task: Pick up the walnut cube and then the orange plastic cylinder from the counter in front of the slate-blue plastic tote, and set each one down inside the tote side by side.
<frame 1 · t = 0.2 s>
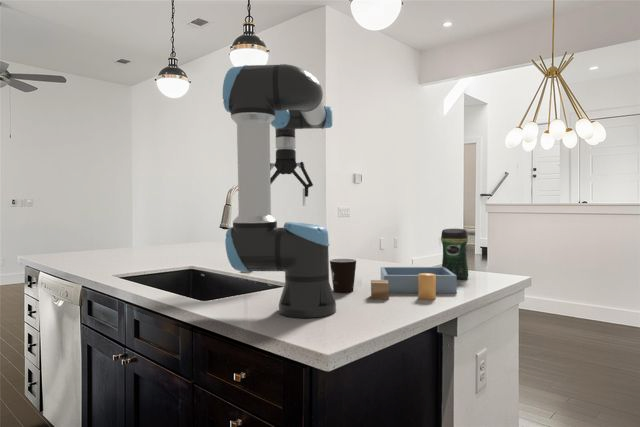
hand: (286, 205, 163), 28 cm above the counter, fingers open, 13 cm apart
tote: (416, 287, 144), on the counter
coffee jar: (454, 278, 162), on the counter
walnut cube: (379, 297, 129), on the counter
orange cylinder: (427, 297, 128), on the counter
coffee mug: (344, 290, 141), on the counter
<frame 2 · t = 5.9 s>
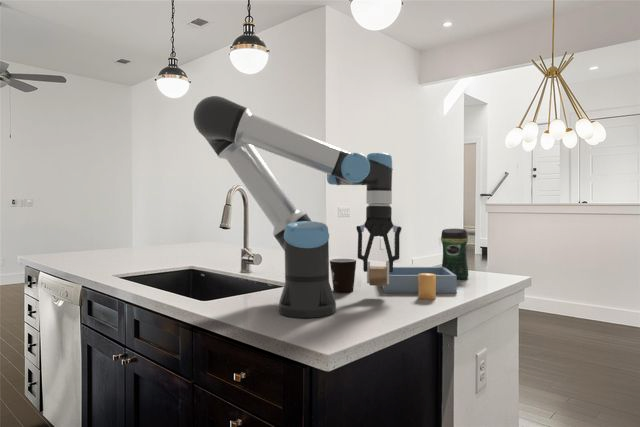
hand: (377, 282, 129), 4 cm above the counter, fingers closed on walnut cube, 5 cm apart
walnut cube: (377, 284, 129), point 4 cm above the counter, touching gripper
everything else where it was.
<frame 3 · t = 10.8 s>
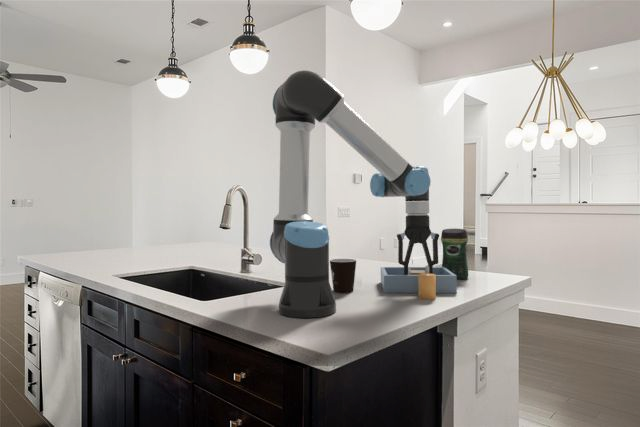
hand: (418, 285, 140), 1 cm above the counter, fingers closed on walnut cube, 5 cm apart
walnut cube: (418, 286, 140), point 1 cm above the counter, touching gripper, tote
everything else where it was.
when the fingers open (1 cm above the counter, at t = 10.9 s): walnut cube stays where it is, resting on tote.
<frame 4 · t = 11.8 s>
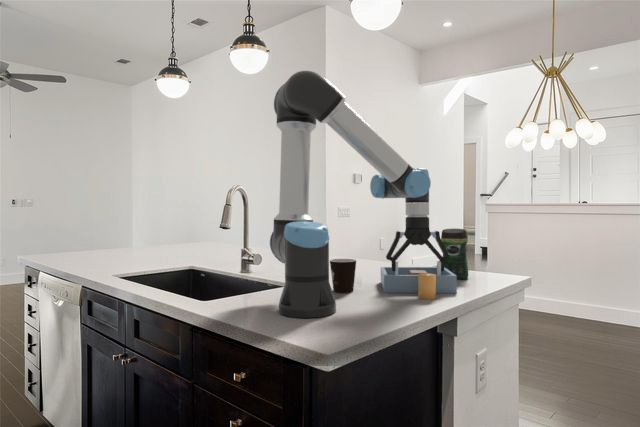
hand: (417, 281, 140), 3 cm above the counter, fingers open, 13 cm apart
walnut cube: (418, 286, 140), point 1 cm above the counter, touching tote
everything else where it was.
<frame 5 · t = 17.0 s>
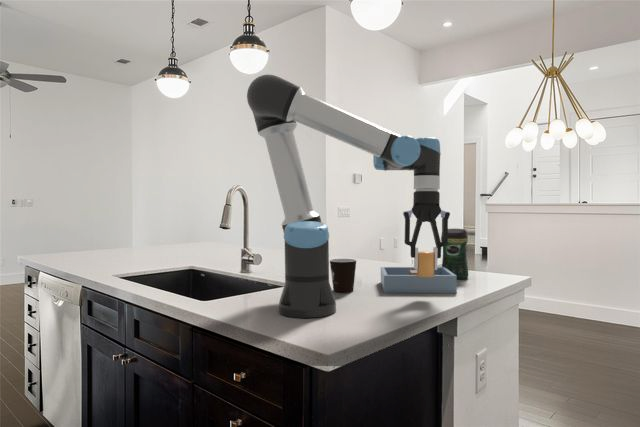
hand: (425, 268, 128), 9 cm above the counter, fingers closed on orange cylinder, 5 cm apart
orange cylinder: (425, 275, 128), point 7 cm above the counter, touching gripper
everything else where it was.
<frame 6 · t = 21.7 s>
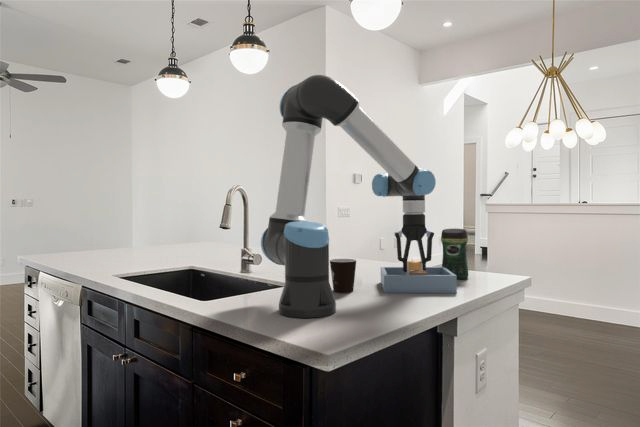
hand: (414, 281, 148), 1 cm above the counter, fingers closed on orange cylinder, 4 cm apart
orange cylinder: (414, 282, 148), point 1 cm above the counter, touching gripper
everything else where it was.
when the fingers open (1 cm above the counter, at t = 21.8 s): orange cylinder stays where it is, resting on tote.
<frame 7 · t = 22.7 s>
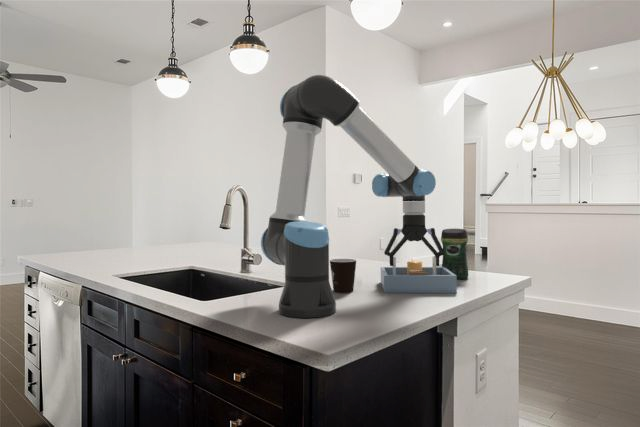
hand: (414, 275, 148), 3 cm above the counter, fingers open, 13 cm apart
orange cylinder: (414, 282, 148), point 1 cm above the counter, touching tote
everything else where it was.
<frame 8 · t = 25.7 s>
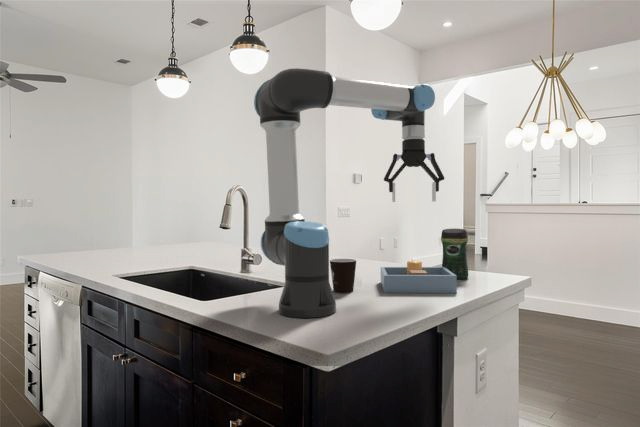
hand: (413, 201, 148), 29 cm above the counter, fingers open, 13 cm apart
nothing on the counter moved.
at the end: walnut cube inside the target area on the tote (4.0 cm from its centre), point 1.0 cm above the tote's base; orange cylinder inside the target area on the tote (4.0 cm from its centre), point 1.0 cm above the tote's base; orange cylinder tilted 1° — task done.
